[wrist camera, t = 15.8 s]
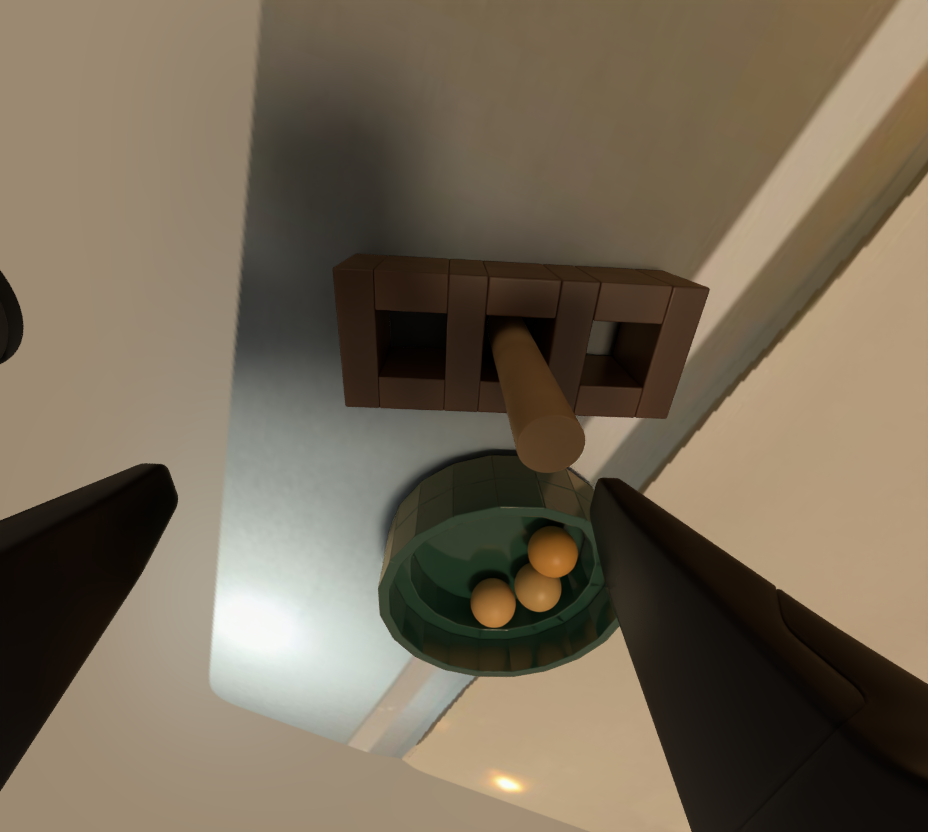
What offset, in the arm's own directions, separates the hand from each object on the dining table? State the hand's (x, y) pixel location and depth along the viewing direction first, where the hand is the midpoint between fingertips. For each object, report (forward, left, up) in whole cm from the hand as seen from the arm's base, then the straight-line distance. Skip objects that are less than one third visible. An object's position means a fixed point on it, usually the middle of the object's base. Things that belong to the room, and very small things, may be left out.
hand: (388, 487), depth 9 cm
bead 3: (+8, -16, -11) cm, 21 cm away
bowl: (+5, -14, -13) cm, 20 cm away
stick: (+4, 0, -13) cm, 14 cm away
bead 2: (+8, -13, -11) cm, 19 cm away
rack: (+4, 0, -13) cm, 14 cm away
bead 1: (+5, -18, -11) cm, 22 cm away
